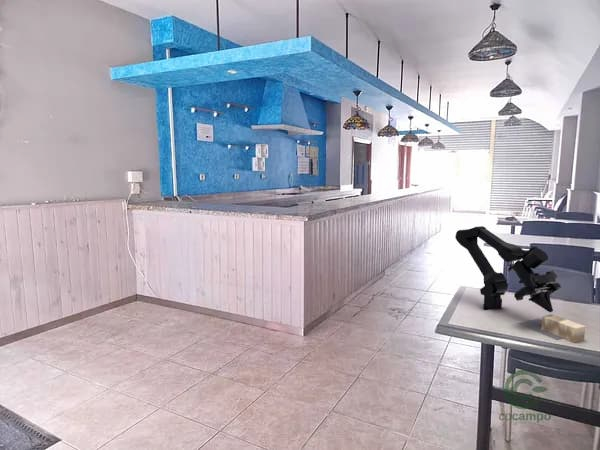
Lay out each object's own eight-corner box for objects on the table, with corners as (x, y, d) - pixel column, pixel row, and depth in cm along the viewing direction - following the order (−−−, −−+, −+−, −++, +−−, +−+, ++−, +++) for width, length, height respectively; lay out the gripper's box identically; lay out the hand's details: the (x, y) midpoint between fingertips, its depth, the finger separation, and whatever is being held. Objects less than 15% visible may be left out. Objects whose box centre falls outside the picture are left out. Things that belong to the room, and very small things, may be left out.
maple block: (542, 316, 144) (575, 328, 133) (551, 314, 146) (585, 326, 135) (541, 329, 145) (574, 342, 134) (550, 327, 147) (584, 340, 136)
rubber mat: (516, 324, 151) (516, 323, 151) (538, 320, 155) (538, 318, 155) (557, 341, 136) (557, 340, 136) (579, 335, 141) (580, 334, 140)
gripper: (523, 266, 143) (550, 305, 134) (558, 261, 149) (586, 298, 141) (503, 281, 151) (527, 319, 142) (537, 276, 158) (562, 311, 149)
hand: (551, 311), depth 144 cm, fingers closed
